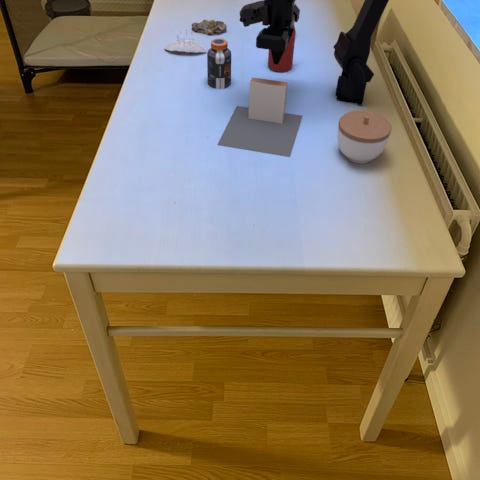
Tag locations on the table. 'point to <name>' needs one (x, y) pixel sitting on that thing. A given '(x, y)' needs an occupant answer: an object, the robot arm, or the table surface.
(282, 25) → the robot arm
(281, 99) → the tile
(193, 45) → the pincushion
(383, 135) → the lidded jar
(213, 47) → the pill bottle
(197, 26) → the mineral rock
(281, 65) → the beer can
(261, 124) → the mat
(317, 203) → the table surface
